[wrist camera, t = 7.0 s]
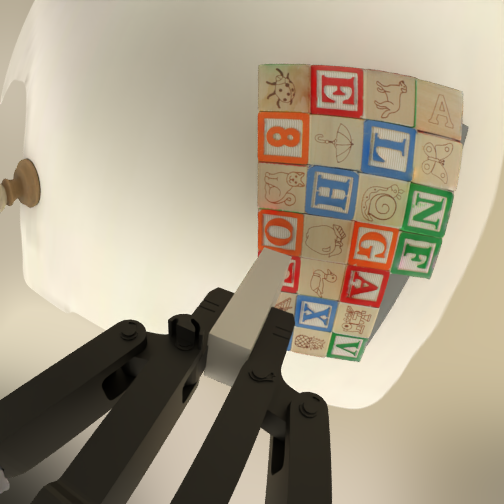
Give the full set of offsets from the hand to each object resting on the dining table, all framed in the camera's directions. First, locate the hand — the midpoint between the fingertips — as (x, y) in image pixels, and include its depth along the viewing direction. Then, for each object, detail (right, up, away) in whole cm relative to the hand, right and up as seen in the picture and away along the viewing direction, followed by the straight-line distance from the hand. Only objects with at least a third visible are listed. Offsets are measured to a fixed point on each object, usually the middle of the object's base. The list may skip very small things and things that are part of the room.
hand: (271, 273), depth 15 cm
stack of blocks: (0, +4, +6) cm, 7 cm away
